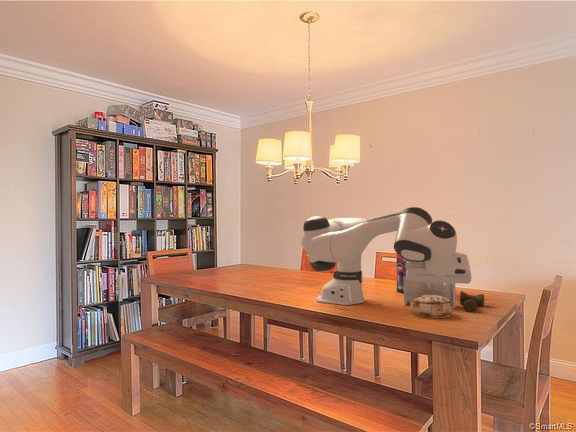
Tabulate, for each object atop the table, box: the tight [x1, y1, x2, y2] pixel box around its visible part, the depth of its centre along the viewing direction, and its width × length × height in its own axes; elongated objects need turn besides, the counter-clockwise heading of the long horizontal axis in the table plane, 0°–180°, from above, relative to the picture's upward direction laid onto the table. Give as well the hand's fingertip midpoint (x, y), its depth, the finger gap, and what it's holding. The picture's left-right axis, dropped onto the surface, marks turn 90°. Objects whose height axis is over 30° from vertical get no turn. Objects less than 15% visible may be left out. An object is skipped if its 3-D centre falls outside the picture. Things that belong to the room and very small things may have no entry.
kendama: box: [459, 290, 485, 313], centre depth 160 cm, size 6×10×20 cm
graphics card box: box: [396, 253, 410, 294], centre depth 186 cm, size 17×7×27 cm, turn 27°
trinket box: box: [409, 295, 454, 319], centre depth 149 cm, size 13×15×8 cm
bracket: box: [403, 276, 457, 309], centre depth 164 cm, size 21×6×12 cm, turn 73°
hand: (436, 286), depth 128 cm, fingers open, 3 cm apart
